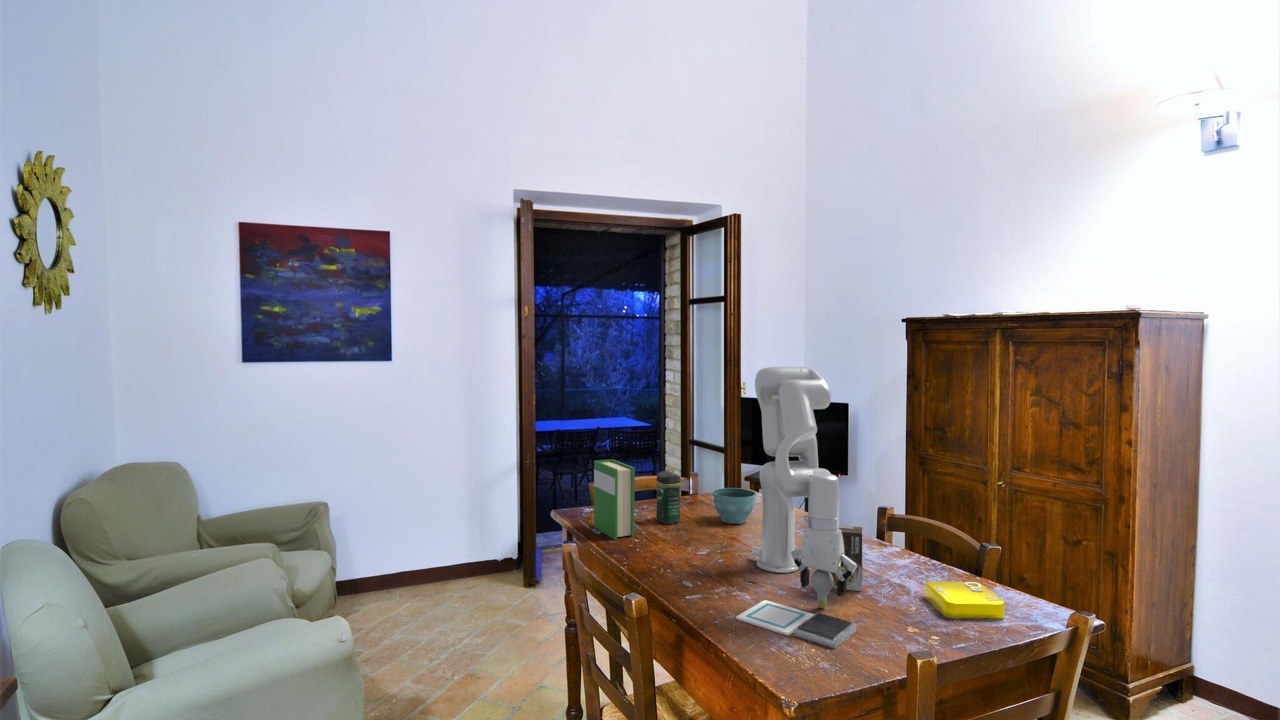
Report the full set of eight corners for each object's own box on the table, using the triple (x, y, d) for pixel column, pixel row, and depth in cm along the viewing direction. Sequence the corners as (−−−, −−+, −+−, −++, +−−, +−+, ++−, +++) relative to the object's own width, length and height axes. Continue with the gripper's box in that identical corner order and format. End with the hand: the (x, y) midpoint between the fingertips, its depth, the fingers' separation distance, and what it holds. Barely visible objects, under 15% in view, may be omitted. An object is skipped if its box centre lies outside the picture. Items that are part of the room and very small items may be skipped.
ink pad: (793, 635, 156) (793, 627, 156) (816, 619, 165) (817, 611, 165) (834, 648, 149) (835, 639, 149) (856, 630, 158) (856, 622, 158)
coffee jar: (683, 523, 249) (684, 473, 248) (664, 526, 246) (664, 475, 245) (672, 517, 258) (672, 468, 257) (653, 519, 254) (653, 470, 254)
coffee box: (862, 583, 189) (863, 526, 188) (862, 592, 183) (863, 533, 182) (828, 579, 192) (829, 523, 191) (827, 587, 186) (828, 529, 185)
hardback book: (634, 537, 232) (634, 467, 231) (614, 539, 228) (615, 469, 228) (612, 524, 247) (612, 459, 247) (593, 526, 244) (594, 460, 243)
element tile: (922, 596, 181) (922, 578, 181) (978, 597, 181) (979, 579, 181) (946, 619, 166) (946, 600, 166) (1007, 621, 166) (1008, 601, 166)
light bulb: (807, 604, 174) (808, 566, 174) (828, 603, 174) (829, 565, 174) (815, 613, 169) (815, 573, 168) (836, 612, 169) (836, 573, 169)
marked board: (735, 619, 165) (736, 616, 165) (764, 602, 175) (764, 599, 175) (787, 635, 156) (787, 632, 156) (814, 616, 166) (815, 614, 166)
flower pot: (713, 514, 262) (713, 486, 262) (755, 516, 260) (755, 488, 259) (711, 526, 246) (711, 496, 246) (756, 528, 244) (756, 498, 243)
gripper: (785, 520, 173) (785, 586, 174) (850, 532, 162) (849, 603, 162) (799, 515, 179) (798, 579, 179) (862, 526, 168) (862, 594, 168)
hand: (822, 590), depth 171 cm, fingers open, 9 cm apart
